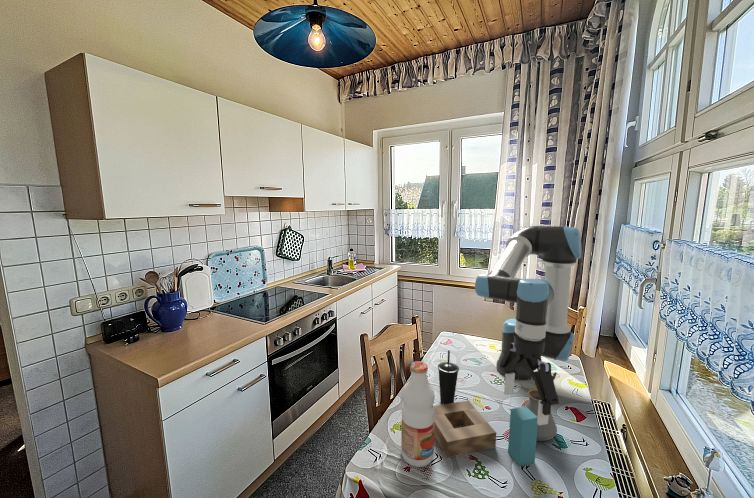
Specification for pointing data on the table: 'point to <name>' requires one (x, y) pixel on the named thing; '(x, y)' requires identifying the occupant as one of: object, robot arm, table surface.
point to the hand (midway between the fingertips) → (524, 407)
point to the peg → (522, 435)
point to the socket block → (462, 429)
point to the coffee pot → (542, 430)
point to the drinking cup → (447, 380)
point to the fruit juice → (418, 418)
